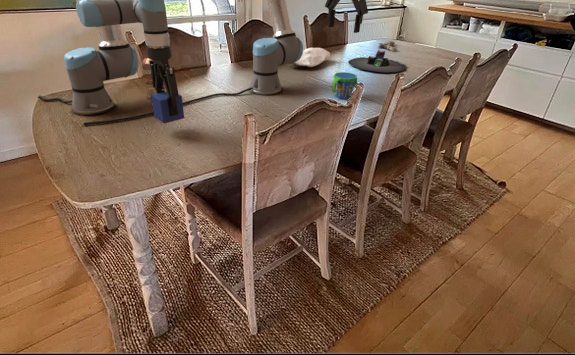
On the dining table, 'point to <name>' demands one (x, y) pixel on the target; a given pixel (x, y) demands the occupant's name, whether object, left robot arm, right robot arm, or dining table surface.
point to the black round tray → (377, 63)
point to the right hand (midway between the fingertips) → (343, 29)
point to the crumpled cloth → (312, 57)
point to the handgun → (388, 45)
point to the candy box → (148, 77)
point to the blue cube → (166, 107)
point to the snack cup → (343, 84)
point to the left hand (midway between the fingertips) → (168, 111)
